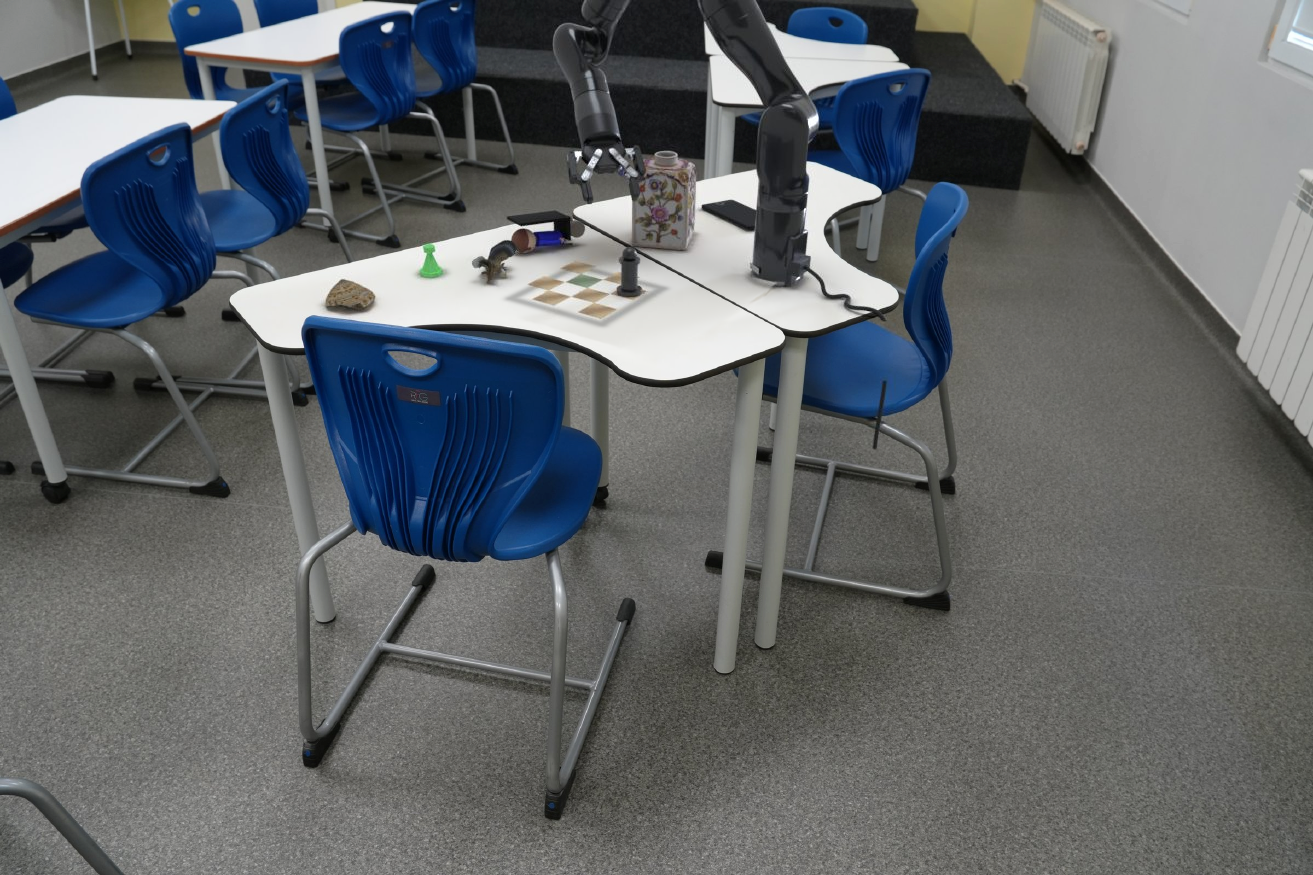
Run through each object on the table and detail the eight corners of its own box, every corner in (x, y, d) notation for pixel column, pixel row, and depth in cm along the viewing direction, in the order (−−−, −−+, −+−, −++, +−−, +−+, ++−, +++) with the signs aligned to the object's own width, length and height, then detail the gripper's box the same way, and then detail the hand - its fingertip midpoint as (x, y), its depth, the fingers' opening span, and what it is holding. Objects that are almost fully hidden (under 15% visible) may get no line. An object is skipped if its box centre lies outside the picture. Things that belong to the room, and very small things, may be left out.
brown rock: (352, 306, 166) (319, 280, 167) (347, 331, 169) (315, 305, 171) (387, 291, 172) (355, 265, 173) (382, 315, 175) (350, 290, 177)
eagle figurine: (517, 280, 181) (526, 255, 187) (493, 250, 177) (503, 226, 184) (486, 297, 184) (495, 272, 190) (461, 268, 180) (472, 244, 187)
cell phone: (731, 203, 228) (731, 199, 227) (780, 224, 215) (780, 220, 214) (700, 208, 223) (700, 204, 223) (748, 231, 211) (748, 227, 210)
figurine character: (567, 243, 206) (504, 248, 197) (570, 207, 202) (505, 211, 194) (584, 252, 201) (520, 258, 193) (587, 216, 198) (522, 220, 189)
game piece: (415, 273, 185) (411, 243, 182) (434, 267, 188) (431, 237, 185) (428, 279, 183) (425, 248, 180) (447, 273, 186) (444, 243, 183)
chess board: (662, 288, 182) (662, 282, 181) (601, 324, 167) (601, 318, 166) (575, 266, 191) (575, 260, 190) (510, 298, 176) (509, 292, 175)
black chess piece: (646, 291, 177) (647, 246, 173) (632, 299, 174) (633, 254, 170) (625, 285, 180) (626, 241, 175) (611, 293, 176) (611, 248, 172)
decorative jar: (695, 233, 209) (699, 148, 200) (687, 251, 199) (690, 163, 190) (640, 228, 211) (641, 144, 201) (629, 246, 201) (630, 159, 192)
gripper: (562, 112, 177) (578, 193, 173) (637, 109, 181) (654, 188, 177) (556, 135, 184) (572, 213, 180) (628, 131, 188) (645, 207, 184)
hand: (613, 200), depth 179 cm, fingers open, 8 cm apart
